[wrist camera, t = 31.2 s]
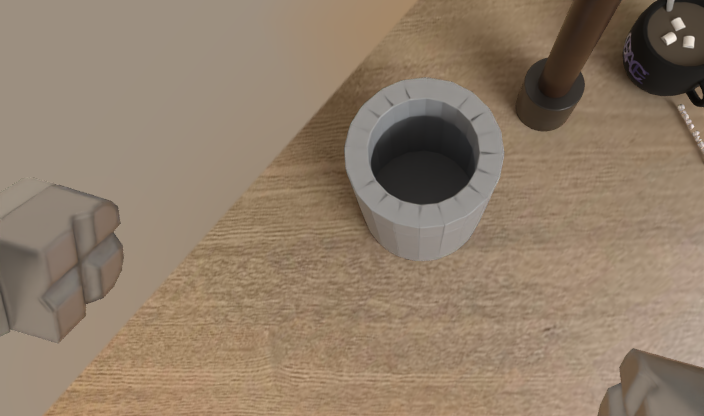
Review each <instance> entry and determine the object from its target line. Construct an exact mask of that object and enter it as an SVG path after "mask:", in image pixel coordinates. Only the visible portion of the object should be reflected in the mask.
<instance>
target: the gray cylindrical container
mask: <svg viewBox="0 0 704 416" xmlns="http://www.w3.org/2000/svg"><path fill="white" fill-rule="evenodd" d="M344 153H345V166H346V172H347V175H348V177H349V180H350V183H351V185H352V188H353V190H354V193H355V196H356V198H357V201H358V203H359V206H360V209H361V211H362V214H363V216H364V219H365V221H366V223H367V226H368V228H369V230H370V232H371V234H372V235H373V236H374V238H375V239H376V240H377V241H378V242H379V244H381V245H382V246H383V247H384V248H385V249H387V250H388V251H390V252H391V253H393V254H395V255H397V256H399V257H402V258H405V259H409V260H414V261H430V260H436V259H439V258H442V257H445V256H447V255H449V254H452V253H453V252H455V251H456V250H458V249H459V248H460V247H461V246H463V245H464V244H465V243H466V241H467V240H468V239H469V238H470V237H471V235H472V234H473V232H474V230H475V228H476V227H477V225H478V223H479V221H480V219H481V217H482V215H483V212H484V210H485V208H486V206H487V204H488V202H489V200H490V197H491V195H492V193H493V191H494V189H495V187H496V185H497V182H498V180H499V178H500V174H501V169H502V164H503V158H504V148H503V141H502V134H501V130H500V128H499V126H498V124H497V122H496V120H495V118H494V116H493V114H492V112H491V110H490V109H489V108H488V107H487V106H486V105H485V104H484V103H483V102H482V101H481V100H480V99H479V98H478V97H477V96H476V95H475V94H474V93H472V92H471V91H469V90H467V89H465V88H463V87H461V86H459V85H457V84H455V83H453V82H450V81H445V80H439V79H434V78H426V77H425V78H416V79H408V80H401V81H399V82H397V83H395V84H392V85H390V86H388V87H385V88H383V89H381V90H380V91H379V92H377V93H376V94H375V95H374V96H373V97H371V98H370V99H369V100H368V101H367V102H365V103H364V104H363V105H362V106H361V108H360V110H359V111H358V113H357V114H356V116H355V117H354V119H353V121H352V122H351V124H350V127H349V130H348V134H347V138H346V142H345V148H344Z"/></svg>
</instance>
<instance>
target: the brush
mask: <svg viewBox="0 0 704 416" xmlns="http://www.w3.org/2000/svg"><path fill="white" fill-rule="evenodd" d="M620 2H621V0H573V2H572V5H571V7H570V9H569V11H568V14H567V16H566V18H565V21H564V23H563V25H562V27H561V30H560V32H559V34H558V36H557V39H556V41H555V43H554V45H553V48H552V50H551V52H550V55H549V57H548V58H545V59H542V60H540V61H538V62H536V63H535V64H534V65H532V66H531V68H530V69H529V70H528V72H527V74H526V76H525V79H524V82H523V84H522V87H521V89H520V92H519V94H518V97H517V100H516V111H517V114H518V116H519V118H520V119H521V121H522V122H523V123H524V124H525V125H527V126H528V127H530V128H532V129H534V130H538V131H550V130H554V129H556V128H558V127H560V126H561V125H563V124H564V123H565V122H566V120H567V119H568V117H569V116H570V114H571V113H572V111H573V109H574V108H575V106H576V105H577V103H578V102H579V100H580V98H581V97H582V95H583V92H584V87H585V83H584V78H583V75H582V73H581V70H582V68H583V66H584V65H585V63H586V61H587V59H588V58H589V56H590V54H591V52H592V51H593V49H594V47H595V46H596V44H597V42H598V40H599V39H600V37H601V35H602V33H603V32H604V30H605V28H606V26H607V25H608V23H609V21H610V20H611V18H612V16H613V14H614V13H615V11H616V9H617V7H618V6H619V4H620Z"/></svg>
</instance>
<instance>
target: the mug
mask: <svg viewBox="0 0 704 416" xmlns="http://www.w3.org/2000/svg"><path fill="white" fill-rule="evenodd" d="M623 63H624V67H625V70H626V72H627V75H628V76H629V78H630V79H631V80H632V82H633V83H634V84H635V85H637V86H638V87H639V88H640V89H642V90H644V91H646V92H648V93H650V94H655V95H659V96H673V95H678V94H682V93H686V94H687V95H688V97H689V99H690V100H691V102H692V103H693V104H694V105H696V106H698V107H704V0H657V1H655V2H654V3H653V4H651V5H650V6H649V7H648V8H647V9H646V10H645V11H644V12H643V13H642V14H641V15H640V16H639V18H638V19H637V21H636V22H635V24H634V25H633V27H632V29H631V31H630V32H629V34H628V36H627V38H626V41H625V45H624V49H623ZM698 86H700V87H701V89H702V93H703V99H700V98H699V96H698V95H697V93H696V91H695V90H694V89H695V88H696V87H698ZM681 108H682V109H681ZM684 108H685V107H684V105H683V104H680V105H678V110H679V111H682V110H683V109H684ZM681 114H686V112H685V111H683V112H681ZM688 117H689V116H688V115H687V114H686V115H684V116H683V119H684V121H685V120H686V124H687V125H688V124H689V125H688V128H689V129H692V128H693V127H694V125H693V124H690V123H691V120H690V119H688V120H687V118H688ZM698 134H699V132H698V131H694V133H692V135H693V136H694V137H696V136H698ZM699 137H700V136H698V137H696V138H695V140H696V141H697V142H699V141H701V140H702V139H700V140H699V139H698V138H699ZM698 145H699V147H700V148H702V147H704V143H703V142H700V143H699V144H697V146H698ZM701 151H702V152H703V154H704V148H703V149H701Z"/></svg>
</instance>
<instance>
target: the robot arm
mask: <svg viewBox="0 0 704 416" xmlns="http://www.w3.org/2000/svg"><path fill="white" fill-rule="evenodd" d="M119 225H120V217H119V210H118V206H117V205H115V204H114V203H113V202H112V201H109V200H107V199H103V198H100V197H97V196H94V195H90V194H87V193H84V192H80V191H77V190H74V189H71V188H68V187H64V186H61V185H56V184H53V183H50V182H47V181H43V180H40V179H37V178H23V179H21V180H19V181H18V182H16V183H14V184H13V185H12V186H10V187H8V188H7V189H5V190H3V191H2V192H1V193H0V336H3V335H5V334H7V333H9V332H10V329H11V330H15V331H18V332H21V333H25V334H28V335H31V336H35V337H38V338H42V339H45V340H48V341H51V342H55V343H59V342H60V341H61V340H62V339H63V338H64V337H65V336H66V335H67V334H68V333H69V332H70V331H71V330H72V329H73V328H74V327H75V326H76V325H77V324H78V323H79V322H80V321H81V320H82V319H83V318H84V317H85V316H86V304H88V303H91V302H94V301H97V300H99V299H102V298H104V296H106V294H107V293H108V292H109V291H110V290H111V289H112V288H113V287H114V285H115V283H116V281H117V279H118V277H119V275H120V273H121V271H122V265H123V259H124V256H123V245H122V244H121V242H120V241H119V239H118V238H117V237H116V235H115V234H114V231H115V229H116V228H117V227H118V226H119ZM619 368H620V377H621V383H619V384H617V385H615V386H612V387H610V388H608V390H607V392H606V394H605V396H604V398H603V400H602V402H601V404H600V408H599V412H598V416H704V368H703V367H699V366H695V365H692V364H688V363H684V362H681V361H677V360H674V359H670V358H666V357H663V356H659V355H656V354H652V353H648V352H645V351H641V350H637V349H634V348H633V349H632V350H631V351H630V352H629V353H628V354H627V355H626V356H625V358H624V360H623V362H622V363H621V365H620V367H619Z"/></svg>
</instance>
